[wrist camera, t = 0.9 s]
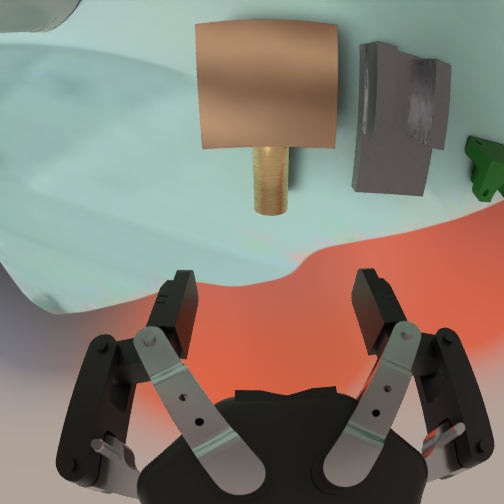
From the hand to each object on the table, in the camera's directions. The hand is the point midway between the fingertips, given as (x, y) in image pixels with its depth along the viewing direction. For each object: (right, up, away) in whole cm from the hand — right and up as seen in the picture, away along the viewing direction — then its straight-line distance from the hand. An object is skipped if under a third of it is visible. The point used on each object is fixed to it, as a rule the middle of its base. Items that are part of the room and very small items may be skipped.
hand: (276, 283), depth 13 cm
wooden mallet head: (0, +18, +9) cm, 20 cm away
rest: (+14, +15, +11) cm, 24 cm away
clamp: (+31, +14, +12) cm, 36 cm away
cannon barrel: (0, +13, +10) cm, 17 cm away
